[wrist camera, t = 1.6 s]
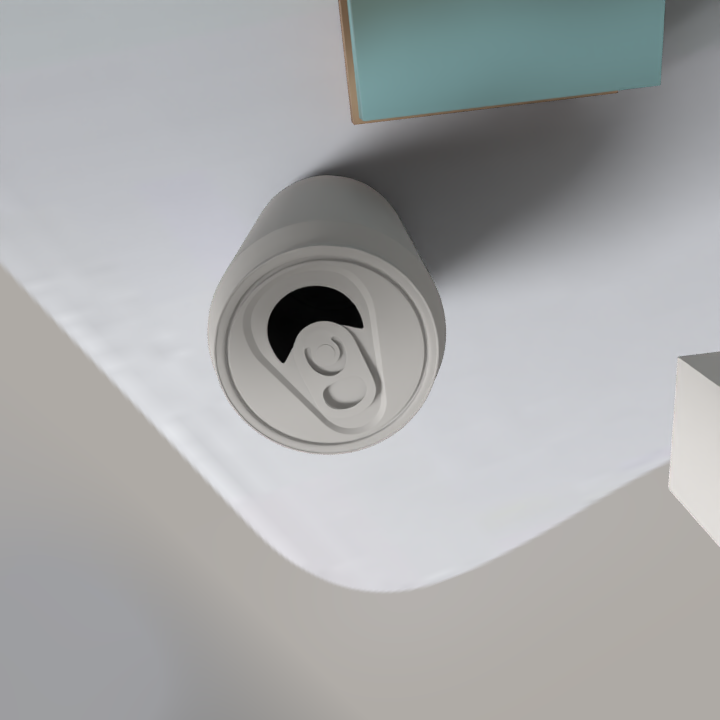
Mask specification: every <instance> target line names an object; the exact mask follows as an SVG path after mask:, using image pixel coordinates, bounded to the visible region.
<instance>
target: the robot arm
mask: <svg viewBox="0 0 720 720" xmlns="http://www.w3.org/2000/svg"><path fill="white" fill-rule="evenodd" d="M668 488H669V490H670V491H671V492H672V493H673V494H674V496H675V497H676V498H677V499H678V500H679V501H680V502H681V503H682V505H683V506H684V507H685V508H686V509H687V510H688V511H689V513H690V514H691V515H692V516H693V517H694V518H695V519H696V521H697V522H698V523H699V524H700V525H701V526H702V527H703V529H704V530H705V531H706V532H707V533H708V534H709V535H710V536H711V538H712V539H713V540H714V541H715V542H716V543H717V545H718V546H719V547H720V352H713V353H705V354H696V355H688V356H680V357H678V361H677V375H676V389H675V403H674V417H673V431H672V444H671V458H670V472H669V486H668Z"/></svg>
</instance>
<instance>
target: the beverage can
mask: <svg viewBox="0 0 720 720" xmlns="http://www.w3.org/2000/svg"><path fill="white" fill-rule="evenodd" d="M207 335H208V346H209V352H210V356H211V360H212V363H213V367H214V369H215V372H216V374H217V376H218V380H219V383H220V386H221V388H222V390H223V392H224V394H225V396H226V398H227V400H228V402H229V403H230V405H231V406H232V407H233V409H234V410H235V411H236V413H237V414H238V415H239V416H240V417H241V418H242V419H243V420H244V421H245V422H246V423H247V424H248V425H249V426H250V427H251V428H252V429H254V430H255V431H256V432H258V433H259V434H260V435H262V436H264V437H265V438H267V439H269V440H270V441H272V442H274V443H276V444H279V445H281V446H283V447H286V448H289V449H292V450H296V451H300V452H305V453H310V454H323V455H333V454H344V453H350V452H355V451H359V450H362V449H365V448H368V447H371V446H373V445H376V444H378V443H380V442H382V441H384V440H385V439H387V438H389V437H391V436H392V435H393V434H395V433H396V432H398V431H399V430H400V429H402V428H403V427H404V426H405V425H406V424H407V423H408V422H409V421H410V420H411V419H412V418H413V417H414V416H415V414H416V413H417V412H418V411H419V409H420V408H421V407H422V405H423V403H424V402H425V400H426V399H427V397H428V395H429V393H430V391H431V388H432V386H433V383H434V380H435V378H436V376H437V374H438V371H439V369H440V366H441V362H442V359H443V355H444V350H445V342H446V323H445V315H444V309H443V306H442V302H441V299H440V296H439V293H438V290H437V288H436V286H435V284H434V282H433V280H432V278H431V276H430V275H429V273H428V271H427V269H426V267H425V265H424V263H423V262H422V260H421V258H420V256H419V254H418V252H417V250H416V249H415V247H414V245H413V243H412V241H411V239H410V237H409V235H408V234H407V232H406V230H405V228H404V226H403V224H402V222H401V221H400V219H399V217H398V215H397V213H396V212H395V210H394V209H393V207H392V206H391V205H390V204H389V202H388V201H387V200H386V199H385V198H384V197H383V196H382V195H381V194H379V193H378V192H377V191H376V190H374V189H373V188H371V187H369V186H368V185H366V184H364V183H362V182H360V181H357V180H354V179H352V178H348V177H342V176H331V175H321V176H314V177H309V178H306V179H303V180H300V181H297V182H295V183H293V184H291V185H290V186H288V187H286V188H285V189H283V190H282V191H280V192H279V193H278V194H277V195H276V196H275V197H273V198H272V199H271V201H270V202H269V203H268V204H267V206H266V207H265V208H264V210H263V211H262V213H261V214H260V216H259V218H258V219H257V221H256V223H255V224H254V226H253V227H252V229H251V231H250V232H249V234H248V236H247V237H246V239H245V241H244V242H243V244H242V245H241V247H240V249H239V250H238V252H237V254H236V255H235V257H234V259H233V260H232V262H231V263H230V265H229V267H228V268H227V270H226V272H225V273H224V275H223V277H222V279H221V280H220V282H219V284H218V286H217V288H216V291H215V293H214V296H213V299H212V303H211V306H210V311H209V317H208V328H207Z"/></svg>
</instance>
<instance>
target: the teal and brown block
mask: <svg viewBox="0 0 720 720" xmlns="http://www.w3.org/2000/svg"><path fill="white" fill-rule="evenodd" d="M338 2H339V12H340V21H341V30H342V39H343V48H344V57H345V66H346V75H347V84H348V93H349V102H350V111H351V120H352V123H353V124H354V125H357V124H365V123H373V122H381V121H390V120H398V119H406V118H414V117H423V116H431V115H439V114H448V113H456V112H464V111H472V110H481V109H489V108H497V107H505V106H514V105H522V104H530V103H538V102H547V101H555V100H563V99H571V98H580V97H588V96H596V95H605V94H613V93H618V90H626V89H634V88H642V87H651V86H659V85H660V84H661V67H662V50H663V32H664V15H665V0H338Z"/></svg>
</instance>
